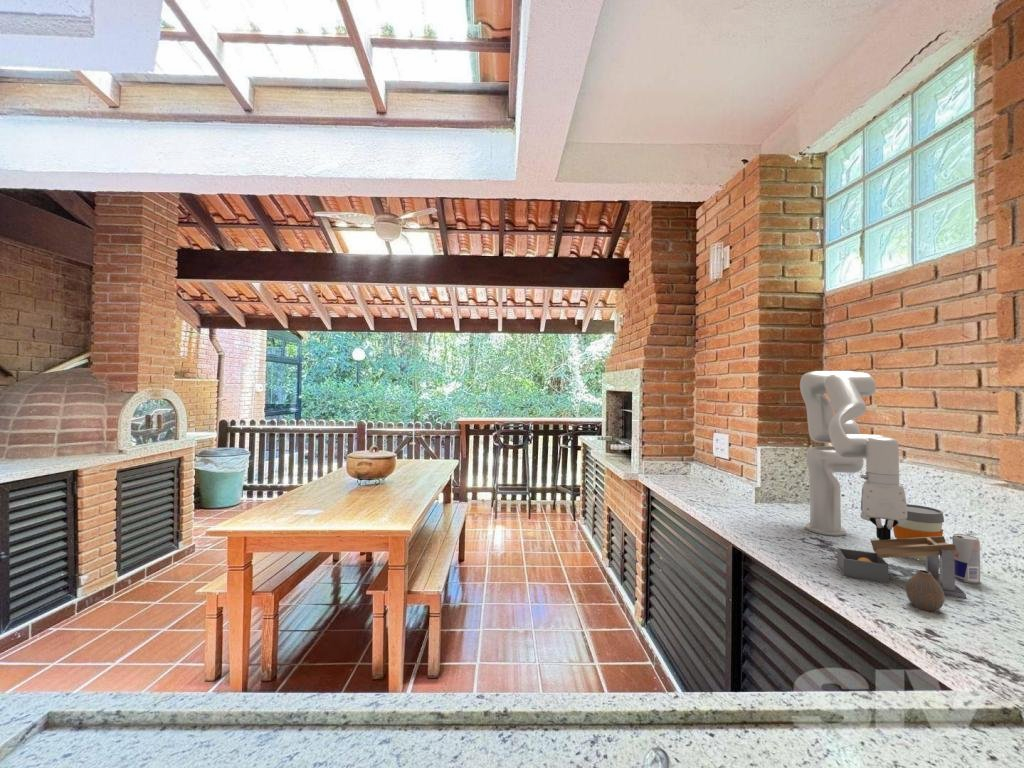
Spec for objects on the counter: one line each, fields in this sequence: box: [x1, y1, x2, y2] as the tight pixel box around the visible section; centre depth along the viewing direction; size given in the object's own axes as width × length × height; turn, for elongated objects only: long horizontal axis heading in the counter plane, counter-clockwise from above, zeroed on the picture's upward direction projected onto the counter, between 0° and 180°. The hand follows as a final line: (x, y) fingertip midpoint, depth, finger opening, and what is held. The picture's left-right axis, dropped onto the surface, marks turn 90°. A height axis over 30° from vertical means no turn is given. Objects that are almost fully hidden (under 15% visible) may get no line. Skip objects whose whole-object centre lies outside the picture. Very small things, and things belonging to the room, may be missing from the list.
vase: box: [905, 569, 945, 612], centre depth 109 cm, size 7×7×9 cm
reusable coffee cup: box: [892, 503, 945, 561], centre depth 143 cm, size 13×12×15 cm
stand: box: [915, 549, 967, 599], centre depth 121 cm, size 14×6×11 cm, turn 153°
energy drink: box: [952, 533, 981, 585], centre depth 125 cm, size 5×5×12 cm
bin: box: [836, 547, 889, 584], centre depth 129 cm, size 10×10×5 cm
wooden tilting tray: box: [870, 535, 957, 559], centre depth 127 cm, size 15×16×3 cm
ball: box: [858, 558, 872, 562], centre depth 129 cm, size 4×4×4 cm
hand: (883, 540), depth 133 cm, fingers closed
